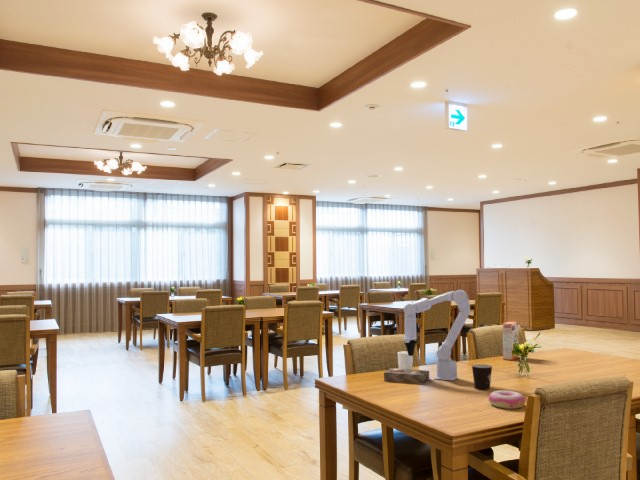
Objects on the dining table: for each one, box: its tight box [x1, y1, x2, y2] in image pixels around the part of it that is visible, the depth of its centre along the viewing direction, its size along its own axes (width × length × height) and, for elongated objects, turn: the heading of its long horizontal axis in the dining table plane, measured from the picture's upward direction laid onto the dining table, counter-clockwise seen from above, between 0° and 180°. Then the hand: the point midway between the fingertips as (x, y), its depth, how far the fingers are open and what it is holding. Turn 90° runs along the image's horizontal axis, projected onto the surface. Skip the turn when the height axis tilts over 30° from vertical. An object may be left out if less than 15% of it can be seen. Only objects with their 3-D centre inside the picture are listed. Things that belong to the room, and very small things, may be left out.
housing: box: [383, 367, 430, 385], centre depth 266 cm, size 19×12×4 cm, turn 65°
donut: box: [488, 389, 526, 410], centre depth 217 cm, size 14×13×5 cm
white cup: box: [397, 350, 414, 370], centre depth 286 cm, size 8×8×10 cm
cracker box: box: [502, 321, 519, 361], centre depth 323 cm, size 14×6×21 cm, turn 147°
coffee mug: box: [471, 363, 493, 391], centre depth 247 cm, size 12×9×10 cm
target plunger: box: [392, 367, 403, 372], centre depth 268 cm, size 5×5×4 cm
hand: (410, 355), depth 273 cm, fingers closed
